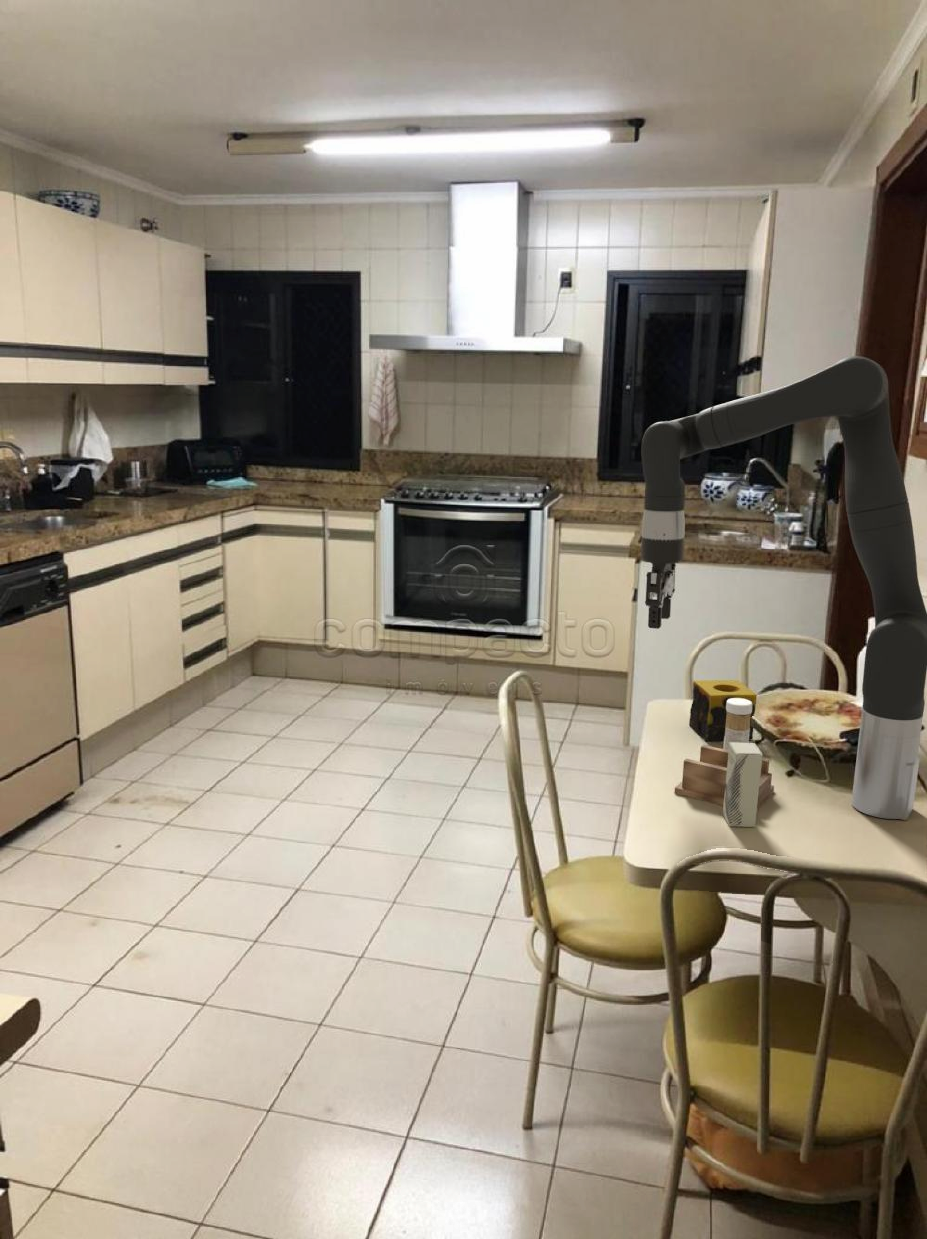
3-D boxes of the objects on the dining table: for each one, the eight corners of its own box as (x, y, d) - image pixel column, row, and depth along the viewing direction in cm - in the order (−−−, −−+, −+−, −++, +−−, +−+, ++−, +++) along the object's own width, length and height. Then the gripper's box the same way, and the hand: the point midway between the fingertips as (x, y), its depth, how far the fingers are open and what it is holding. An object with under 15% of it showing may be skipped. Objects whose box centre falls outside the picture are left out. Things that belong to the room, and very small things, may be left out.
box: (721, 814, 160) (727, 741, 157) (748, 814, 160) (754, 741, 157) (729, 828, 155) (735, 753, 152) (756, 828, 154) (763, 753, 151)
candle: (688, 725, 202) (691, 680, 200) (734, 724, 203) (738, 679, 201) (705, 742, 192) (708, 695, 190) (753, 741, 193) (757, 694, 191)
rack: (773, 791, 169) (776, 759, 168) (753, 813, 160) (756, 779, 159) (697, 773, 177) (699, 742, 175) (674, 793, 168) (676, 760, 166)
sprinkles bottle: (731, 763, 181) (736, 695, 178) (751, 770, 178) (757, 701, 175) (716, 769, 179) (721, 700, 175) (737, 776, 175) (742, 706, 172)
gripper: (676, 541, 164) (672, 633, 168) (691, 530, 177) (686, 616, 181) (633, 539, 167) (630, 629, 171) (650, 529, 180) (647, 613, 183)
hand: (659, 623), depth 176 cm, fingers open, 8 cm apart
